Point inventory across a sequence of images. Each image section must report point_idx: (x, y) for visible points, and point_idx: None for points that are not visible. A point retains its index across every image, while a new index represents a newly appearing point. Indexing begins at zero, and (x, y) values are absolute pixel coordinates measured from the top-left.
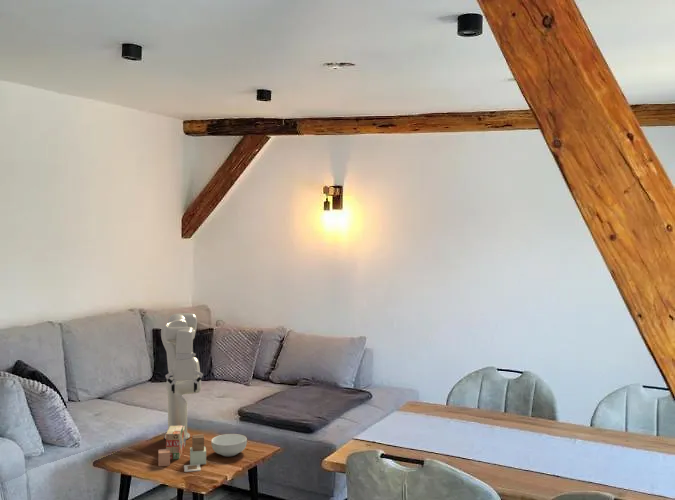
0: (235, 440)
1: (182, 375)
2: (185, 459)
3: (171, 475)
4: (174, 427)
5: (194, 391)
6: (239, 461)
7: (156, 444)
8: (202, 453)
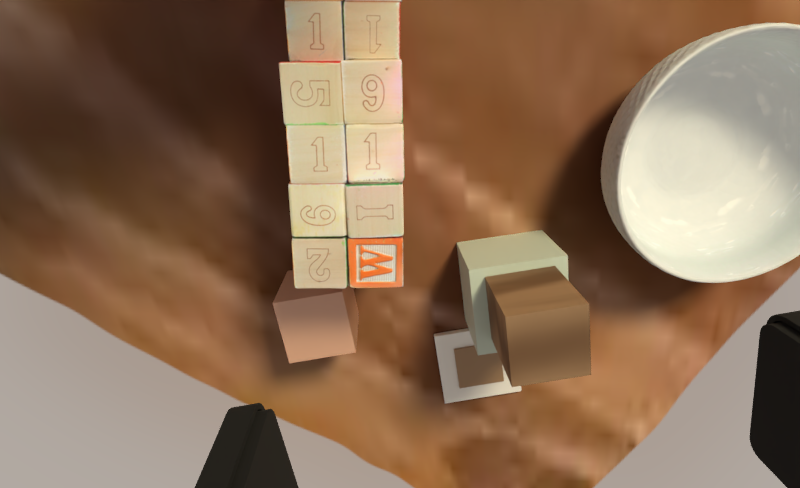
0: (778, 48)
1: None
2: (431, 233)
3: (388, 432)
4: (332, 122)
5: (767, 453)
6: None
7: None
8: None
